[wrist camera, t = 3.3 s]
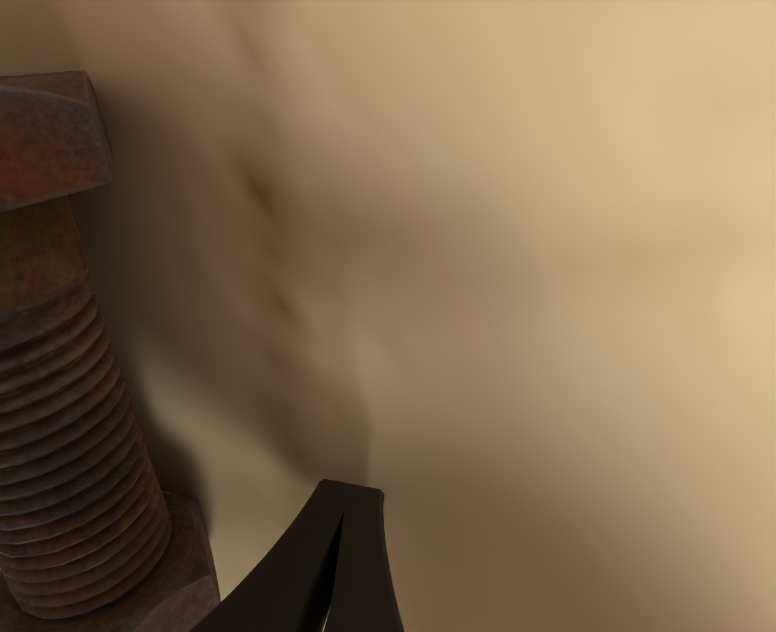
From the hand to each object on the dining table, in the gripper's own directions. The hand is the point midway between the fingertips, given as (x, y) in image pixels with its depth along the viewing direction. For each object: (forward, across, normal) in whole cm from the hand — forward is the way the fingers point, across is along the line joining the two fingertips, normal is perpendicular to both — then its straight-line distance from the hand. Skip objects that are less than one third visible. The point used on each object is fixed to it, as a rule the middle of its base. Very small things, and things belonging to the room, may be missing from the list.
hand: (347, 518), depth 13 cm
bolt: (+2, +6, 0) cm, 6 cm away
